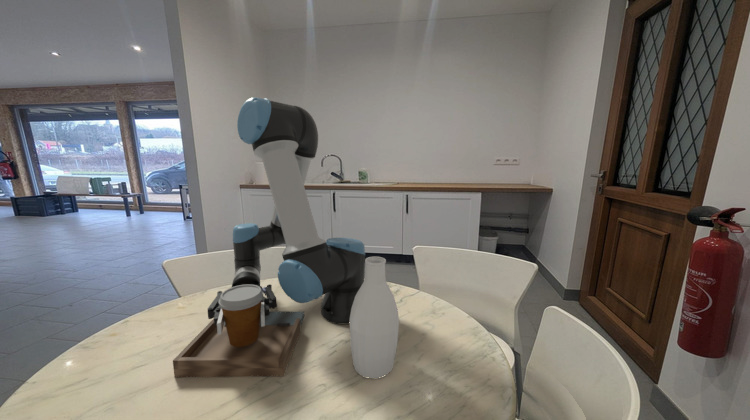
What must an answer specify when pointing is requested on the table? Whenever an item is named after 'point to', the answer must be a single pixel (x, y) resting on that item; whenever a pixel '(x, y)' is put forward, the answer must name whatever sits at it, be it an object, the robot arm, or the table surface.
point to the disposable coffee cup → (242, 313)
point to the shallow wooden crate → (242, 350)
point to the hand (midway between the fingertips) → (241, 324)
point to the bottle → (374, 323)
